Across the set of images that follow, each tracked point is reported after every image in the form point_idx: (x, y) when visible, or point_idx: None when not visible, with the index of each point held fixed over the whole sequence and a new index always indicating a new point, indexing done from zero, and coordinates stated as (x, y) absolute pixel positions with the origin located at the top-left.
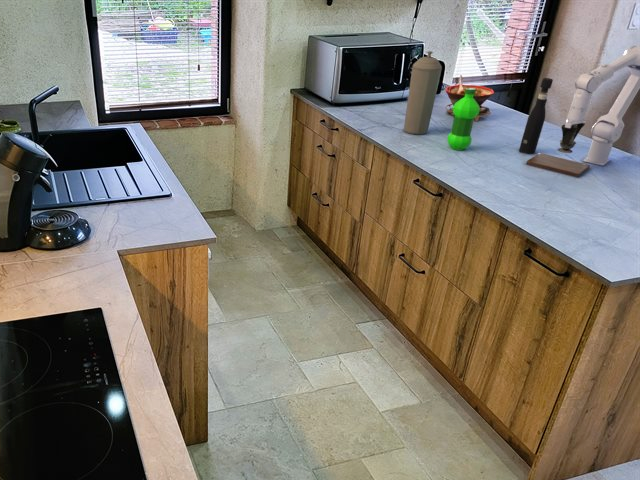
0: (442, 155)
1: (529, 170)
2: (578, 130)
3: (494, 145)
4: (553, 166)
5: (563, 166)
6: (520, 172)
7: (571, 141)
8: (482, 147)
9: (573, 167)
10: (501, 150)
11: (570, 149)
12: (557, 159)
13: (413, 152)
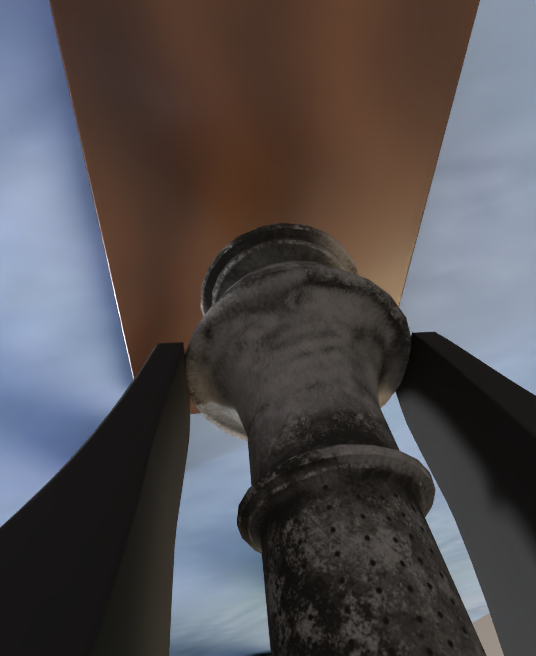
0: (450, 569)
1: (468, 337)
2: (144, 501)
3: (177, 552)
4: (389, 253)
5: (335, 192)
6: (530, 354)
7: (352, 344)
8: (250, 558)
9: (298, 103)
10: (224, 518)
11: (235, 270)
12: (182, 293)
13: (467, 602)
